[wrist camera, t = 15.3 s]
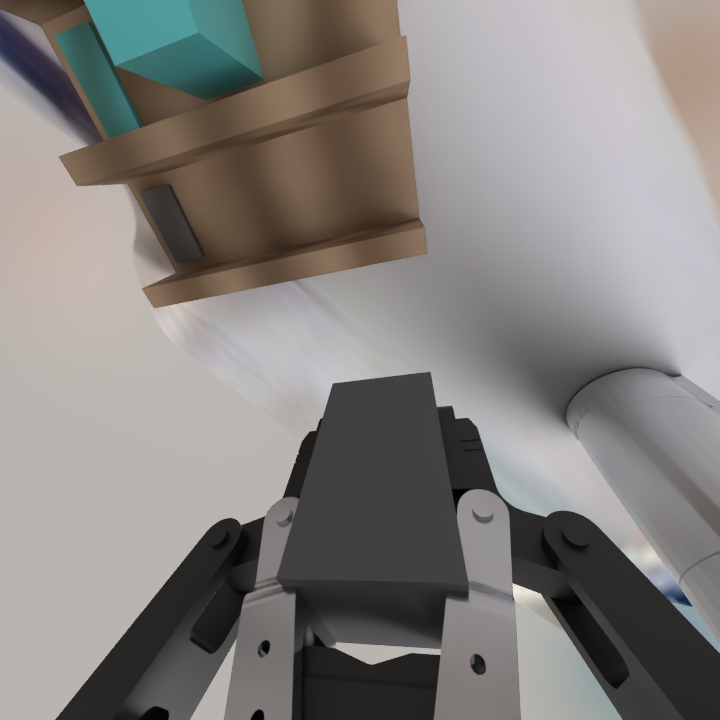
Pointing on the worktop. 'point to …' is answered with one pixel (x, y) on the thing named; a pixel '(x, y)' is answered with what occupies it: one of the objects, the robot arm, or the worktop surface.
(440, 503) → the charcoal plug
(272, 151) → the wooden bookshelf
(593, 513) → the worktop surface
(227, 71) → the teal plug
